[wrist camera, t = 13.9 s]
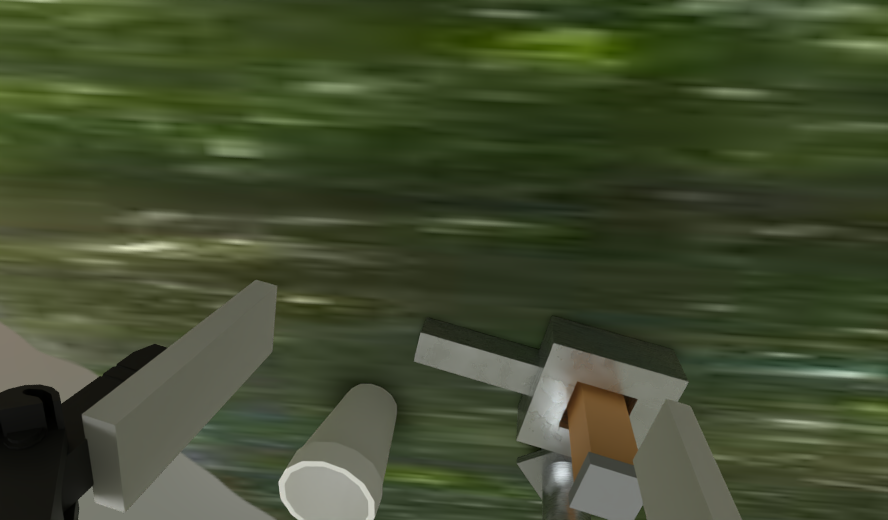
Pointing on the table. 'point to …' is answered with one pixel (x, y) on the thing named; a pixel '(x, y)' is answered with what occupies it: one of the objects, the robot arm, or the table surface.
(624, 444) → the wedge pin
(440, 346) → the grey angular stepped piece
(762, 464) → the table surface
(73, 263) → the table surface
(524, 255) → the table surface
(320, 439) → the foam cup
